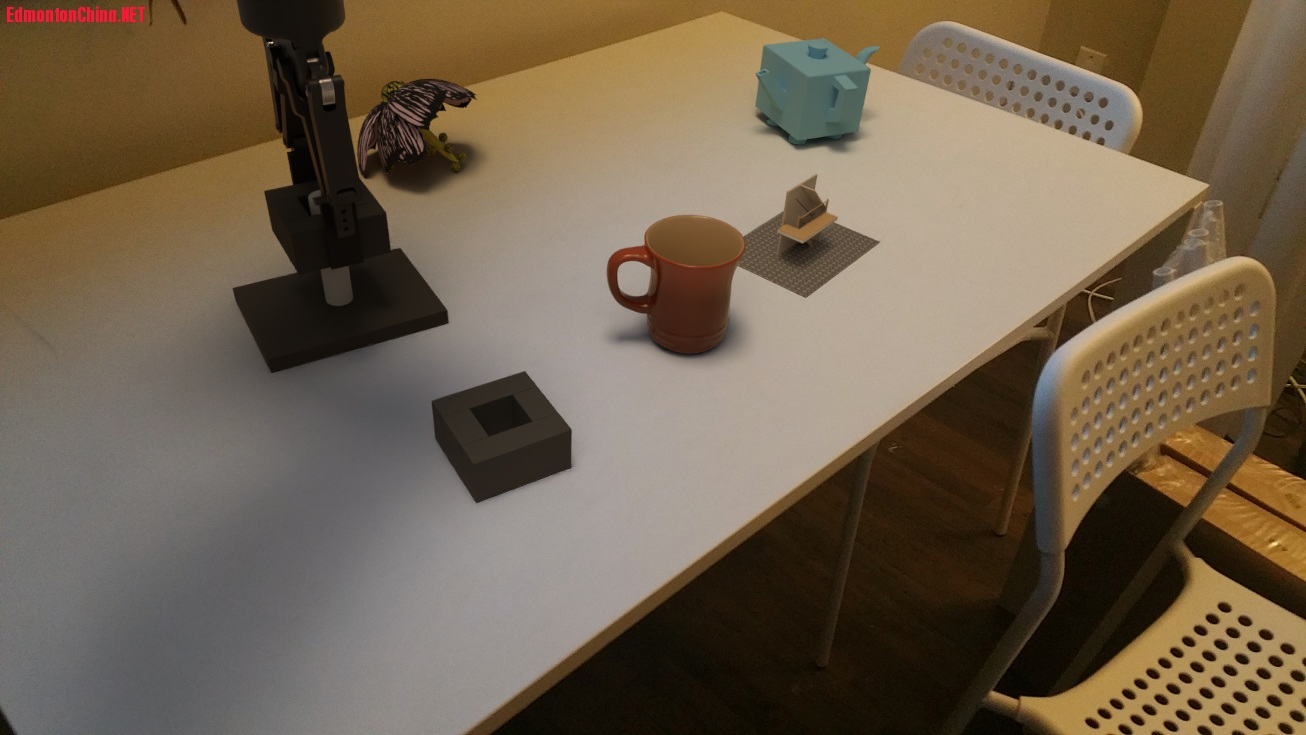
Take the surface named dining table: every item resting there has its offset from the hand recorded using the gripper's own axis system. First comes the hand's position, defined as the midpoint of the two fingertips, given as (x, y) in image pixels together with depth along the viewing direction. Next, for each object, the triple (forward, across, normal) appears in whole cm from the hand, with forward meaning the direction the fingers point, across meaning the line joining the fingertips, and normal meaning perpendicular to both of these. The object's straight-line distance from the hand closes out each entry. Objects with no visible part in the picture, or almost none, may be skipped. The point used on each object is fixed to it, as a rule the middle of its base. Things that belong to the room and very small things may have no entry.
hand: (330, 239), depth 86 cm
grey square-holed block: (+8, -24, -5) cm, 26 cm away
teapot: (+8, +13, -66) cm, 68 cm away
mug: (+8, -17, -25) cm, 31 cm away
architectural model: (+8, -10, -46) cm, 48 cm away
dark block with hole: (0, 0, 0) cm, 0 cm away
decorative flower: (+8, +24, -17) cm, 30 cm away
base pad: (+8, 0, 0) cm, 8 cm away
